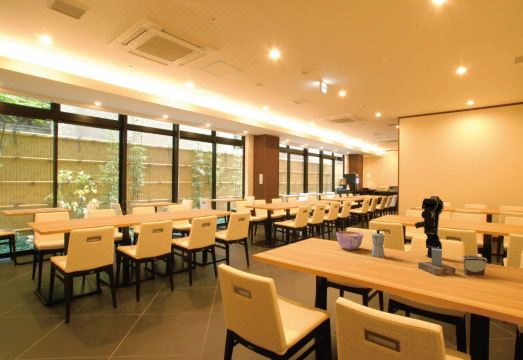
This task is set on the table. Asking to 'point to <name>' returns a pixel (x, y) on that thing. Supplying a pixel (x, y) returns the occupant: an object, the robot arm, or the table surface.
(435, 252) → the slate block
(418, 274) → the table surface
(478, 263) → the food container
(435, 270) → the walnut block
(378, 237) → the coffee maker
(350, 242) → the bowl of food
